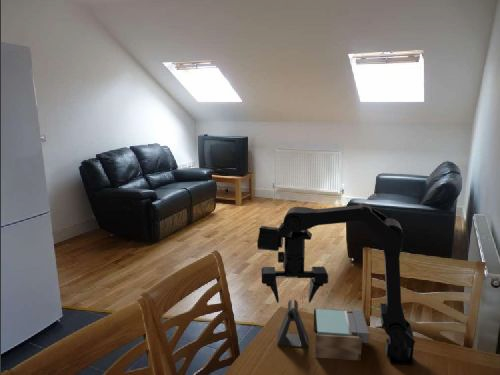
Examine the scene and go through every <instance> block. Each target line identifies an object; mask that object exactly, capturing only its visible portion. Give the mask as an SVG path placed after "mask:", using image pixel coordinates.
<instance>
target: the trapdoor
mask: <svg viewBox="0 0 500 375" xmlns="http://www.w3.org/2000/svg"><path fill="white" fill-rule="evenodd" d="M315 309H316V320H317V330H316V334H329V335H346V336H352V334H355V335H356V336H362V344H363V343H366V344H368V343H369V339H370V332H369V328H368V324H367V322H366V318H365V315H364V311H363V310H362V309H351V310H352V313H347V311H339V310H340V309H334V310H324V309H325V308H315Z"/></svg>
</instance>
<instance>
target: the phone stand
mask: <svg viewBox="0 0 500 375" xmlns="http://www.w3.org/2000/svg"><path fill="white" fill-rule="evenodd" d="M292 304H293V305H294V307H292V306H293V305H292ZM292 322H294V323H295V327H296V330H297V333H288V331H289V328H290V325H291V323H292ZM276 345H277V346H278V347H287V348H288V347H289V348H292V347H293V348H306V349H307V348H309V346H308V345H309V344H308V332H307V330H306V327H305V325H304V322H303V320H302V318H301V314H300V312H299V303H298V301H297V300H296V299H294V303H293V302H292V299H290V300H289V301H288V302H287V310H286V313H285V315H284V317H283V320H282V322H281V325H280V327H279V330H278V332H277V342H276Z"/></svg>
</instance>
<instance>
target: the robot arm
mask: <svg viewBox="0 0 500 375" xmlns="http://www.w3.org/2000/svg"><path fill="white" fill-rule="evenodd" d="M356 222H362V223H363V224H365V226H367V227H368V228H369V229H370V230H371V231H372V232H373V233H374V234H375V235H377V237H379V239H380V242H381V246H382V250H383V257H384V277H385V278H384V280H385V296H386V298H385V299H386V300H385V303H383V302H382V303H381V302H380V303H379V306H380V312H381V313H380V314H379V315H380V322H381V328H382V329H384V332H385V334H386V335H387V336H388V337H387V338H386V339H385V348H384V351H385V355H386V357H387V358H388V361H389V363H390V364H394V365H410V366H414V365H415V361H414V351H415V350H414V349H415V344H416V341H415V340H416V339H415V336H414V332H413V328H412V325H411V323H410V322H409V321H408V320H407V319H406V318H405V314H404V309H403V305H402V288H401V287H402V286H401V265H400V263H401V262H400V256H401V253H402V249H403V244H404V239H405V237H404V236H405V235H404V232H403V229H402V226H401V224H400V222H399V221H397V219H394V218H389V217H387V216H386V215H384V213H381V212H380V211H378V210H377V209H374V208H373V207H371V206H370V205H369V204H368V203H360V204H354V205H345V206H344V205H343V206H334V207H327V208H311V207H307V206H293V207H290V208H289V209H288V211H287V212H286V213H285V216H284V217H283V222H281V223H280V225H279V227H278V226H277V227H273V226H267V225H261V226H260V227H259V228H258V229H259V232H258V236H257V241H256V242H257V243H256V245H257V249H258V250H259V251H261V250H262V251H272V252H277V263H279V264H280V263H282V264H283V265H282V267H283V268H282V269H283V270H276V267H275V266H262V267H261V284H263V285H266V287H270V289H271V291H272V292H273V295H274V298H275V301H276V303H279V300H280V299H279V292H278V282H277V279H310V282H309V289H308V303H309V304H310V303H311V302H312V300H313V298H314V296H315V294H316V293H317V291H318V290H319V288H320V287H323V286H324V285H326V284H329V273H328V271H327V269H326V268H325V266H312V267H311V270H305V256H306V255H305V251H306V250H305V248H306V240H307V241H310V240H312V237H313V233H312V232H311V231H309V230H310V229H311V228H315V227H317V226H323V225H333V224H334V225H336V224H345V223H356ZM283 245H284V250H283V251H279V250H280V249H282V248H283Z"/></svg>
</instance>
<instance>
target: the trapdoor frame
mask: <svg viewBox="0 0 500 375" xmlns="http://www.w3.org/2000/svg"><path fill="white" fill-rule="evenodd" d="M316 309H317V308H314V309H313V330H314V331H317V320H316ZM323 309H324V310H335V309H332V308H329V309H328V308H323ZM338 310H339V311H347V313H352V310H353V309H351V310H350V309H348V310H347V309H338ZM314 343H315V348H314V352H315V353H314V357H315V358H318V359H319V358H320V359H333V360H334V359H335V360H346V361H347V360H349V361H361V360H362V345H363V342H362V336H356V335H355V334H352V336H346V335H329V334H317V333H315V342H314Z"/></svg>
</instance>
